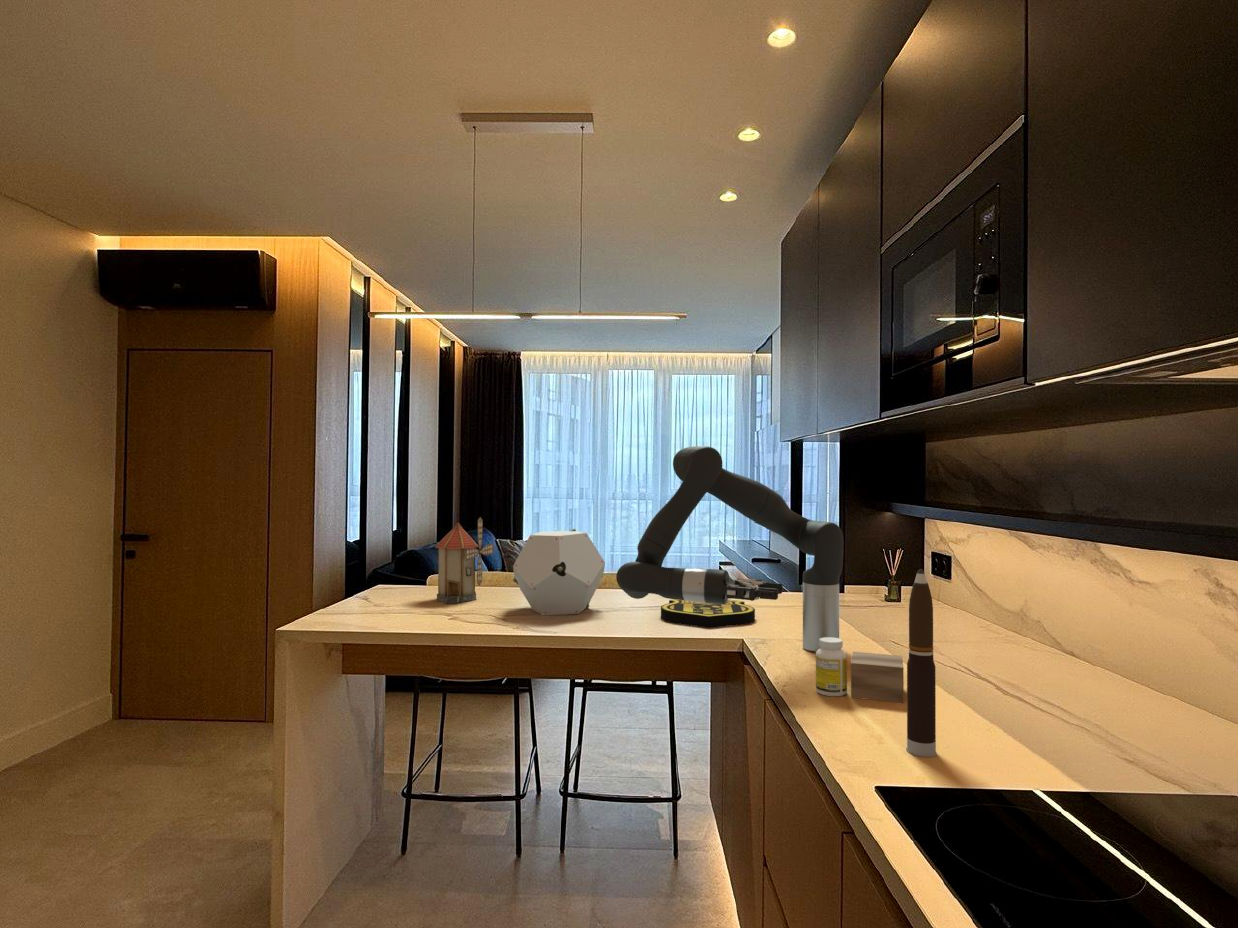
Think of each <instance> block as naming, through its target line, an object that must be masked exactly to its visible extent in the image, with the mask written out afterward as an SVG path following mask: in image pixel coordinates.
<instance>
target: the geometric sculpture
mask: <svg viewBox="0 0 1238 928" xmlns="http://www.w3.org/2000/svg"><path fill="white" fill-rule="evenodd" d="M605 564H606V561H605V560H604V559H603V557H602V555H601V554H600V552H599V550H598V549H597V547H596V545H595V544H594V543H593V541H592V539H591V537H590V536H589V535H588V533H587V532H584V531H579V530H577V529H576V528H572V529H571V530H551V531H547V530H546V531H539V532H536V533H532V534H530V535H529V537H528V538H527V540H526V542H525V544H524V546H523V547H522V549H521V551H520V553H519V555H518V556H517V558H516V559H515V562H514V564H513V565H512V569H513V575H514V576H513V579H512V582H514V583H516V585H517V586H518V588H519V590H520V591H521V593H522V595H523V597H524V598H525V599H526V601H527V603H528V604H529V606H530V608H531V609H532V610H533V611H535V612H537V613H538V614H540V615H542V616H554V615H555V616H556V615H557V616H558V615H576V614H580V613H581V612H583V611H584V610H586V609H589V608H590V602H591V601H592V598H593V597H594V595H595V592H596V591H597V589H598V587H599V585H600V583H601V581H602V579H603V577H604V571H605Z"/></svg>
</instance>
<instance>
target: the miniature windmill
mask: <svg viewBox="0 0 1238 928" xmlns="http://www.w3.org/2000/svg"><path fill="white" fill-rule="evenodd" d="M483 527H484V523H483V519H482V517H481V516H479V518H478V519H477V542H475V540H474V539H473V538H472V537H471V536H470V534H468V532H466V530H465V529H464V528H463V526H462V525H461V524H460V522H457V523H455V525H454V527H453V528H452V529H451V530H450V531H449V532H448V533H446V535H445V536H444V537H443V538H442V539H441V540H440V541H438V543H437V544H436V545H435V546H434V547H435V548H437V549H438V563H437V565H438V567H437V568H438V574H437V577H438V579H437V580H438V583H437V584H438V585H437V587H438V588H437V590H438V593H437V594H436V600H437V601H438V602H442V603H445V605H447V604H448V605H449V604H451V605H452V604H453V605H458V604H459V603H463V602H469V601H475V600H477V592H476V584H477V585H478V586H479V587H481V584H482V582H483V562H482V555H483V556H491V555H493V554H494V550H495V547H494V543H492V542H491V543H488V544H486V545H484V546H483V547H482V545H483V544H482V543H483V534H484V532H483V531H484V530H483V529H484V528H483ZM476 557H478V558H477V566H476ZM476 567H477V569H476Z"/></svg>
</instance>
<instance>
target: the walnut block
mask: <svg viewBox="0 0 1238 928" xmlns="http://www.w3.org/2000/svg"><path fill="white" fill-rule="evenodd" d="M851 653H852V654H851V659H850V698H854V699H862V700H874V701H881V702H890V703H900V704H901V703H902V704H904V695H905V693H904V690H905V689H904V687H905V686H904V675H905V674H904V668H905V667H904V662H903V656H902V655H896V654H884V653H876V652H875V653H874V652H873V653H872V652H863V651H862V652H861V651H852V652H851Z"/></svg>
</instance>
